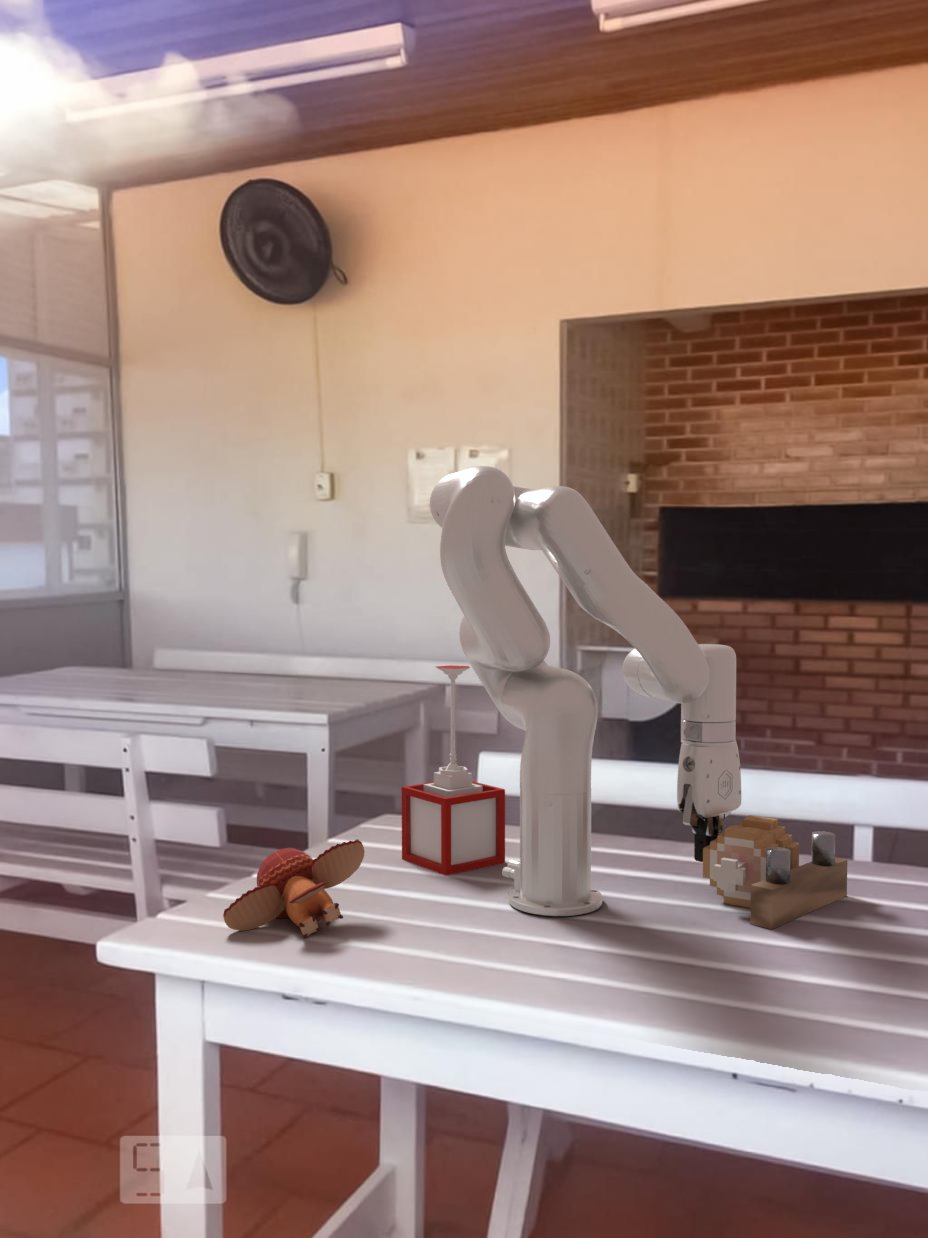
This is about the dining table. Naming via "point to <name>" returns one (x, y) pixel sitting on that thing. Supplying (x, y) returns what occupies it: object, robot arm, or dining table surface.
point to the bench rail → (798, 883)
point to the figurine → (296, 888)
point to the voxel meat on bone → (744, 857)
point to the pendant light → (453, 815)
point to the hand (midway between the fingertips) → (707, 861)
